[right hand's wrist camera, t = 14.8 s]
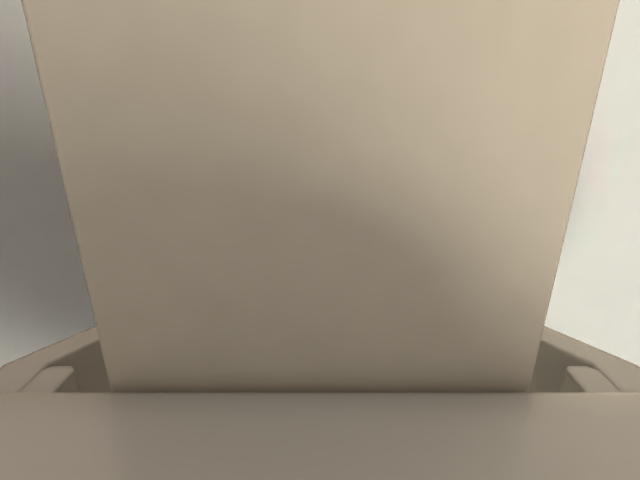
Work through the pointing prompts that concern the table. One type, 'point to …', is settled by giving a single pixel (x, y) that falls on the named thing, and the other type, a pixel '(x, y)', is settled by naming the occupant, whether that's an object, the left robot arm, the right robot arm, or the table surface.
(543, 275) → the box
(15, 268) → the table surface
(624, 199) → the table surface
